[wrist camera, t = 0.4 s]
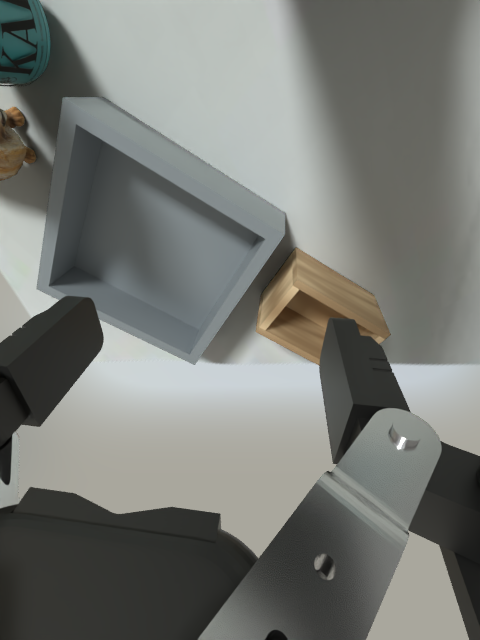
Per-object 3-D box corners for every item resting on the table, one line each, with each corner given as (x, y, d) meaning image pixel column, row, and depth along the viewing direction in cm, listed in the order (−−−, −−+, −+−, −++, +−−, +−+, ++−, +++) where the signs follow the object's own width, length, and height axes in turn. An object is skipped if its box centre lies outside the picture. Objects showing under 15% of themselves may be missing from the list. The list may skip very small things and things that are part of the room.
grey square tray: (103, 96, 22) (62, 97, 18) (285, 213, 25) (284, 234, 21) (68, 264, 31) (36, 289, 27) (205, 333, 34) (194, 365, 30)
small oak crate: (296, 247, 27) (297, 279, 22) (373, 295, 29) (390, 334, 24) (260, 294, 30) (255, 331, 26) (332, 334, 32) (340, 376, 27)
